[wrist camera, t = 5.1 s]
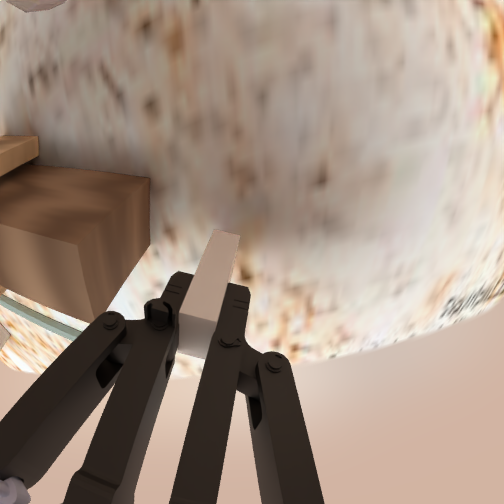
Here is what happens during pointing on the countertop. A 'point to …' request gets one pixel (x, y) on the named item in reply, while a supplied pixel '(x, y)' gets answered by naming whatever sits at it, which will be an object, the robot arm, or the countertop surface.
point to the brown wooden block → (71, 235)
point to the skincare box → (3, 336)
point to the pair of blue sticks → (39, 319)
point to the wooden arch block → (16, 156)
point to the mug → (35, 4)
